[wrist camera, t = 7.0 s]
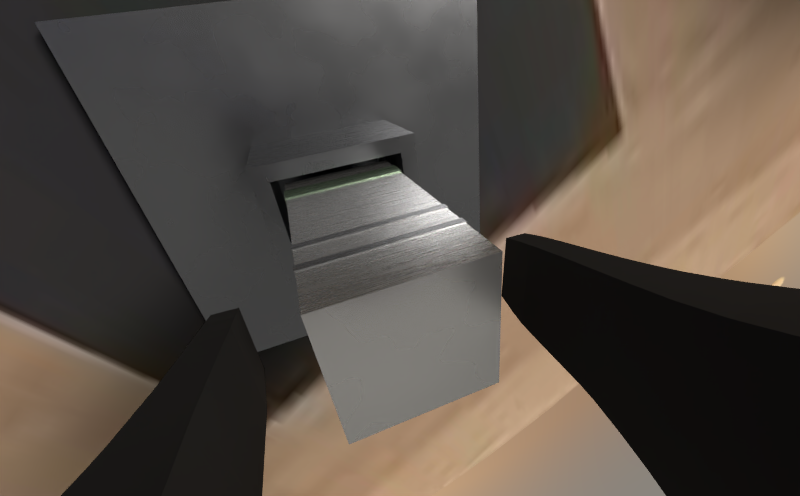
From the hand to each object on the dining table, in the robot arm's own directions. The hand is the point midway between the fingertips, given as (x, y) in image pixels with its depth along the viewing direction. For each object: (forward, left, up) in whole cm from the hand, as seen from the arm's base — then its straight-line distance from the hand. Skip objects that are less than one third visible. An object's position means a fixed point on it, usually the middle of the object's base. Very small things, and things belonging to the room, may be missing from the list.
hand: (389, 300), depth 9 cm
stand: (0, 0, -10) cm, 10 cm away
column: (0, 0, -6) cm, 6 cm away
